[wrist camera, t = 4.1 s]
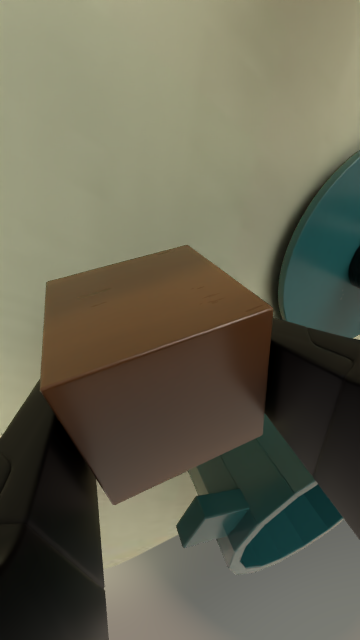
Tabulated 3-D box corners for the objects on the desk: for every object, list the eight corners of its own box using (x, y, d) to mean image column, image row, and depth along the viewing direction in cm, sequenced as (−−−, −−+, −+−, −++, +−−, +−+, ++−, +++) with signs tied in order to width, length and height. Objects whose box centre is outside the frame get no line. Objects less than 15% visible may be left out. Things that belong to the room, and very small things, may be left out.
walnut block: (45, 281, 8) (37, 390, 4) (187, 243, 9) (275, 307, 5) (93, 385, 11) (113, 507, 7) (199, 347, 12) (263, 435, 8)
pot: (187, 344, 15) (269, 465, 9) (346, 370, 24) (440, 442, 18) (122, 474, 19) (151, 615, 14) (277, 457, 28) (336, 539, 22)
